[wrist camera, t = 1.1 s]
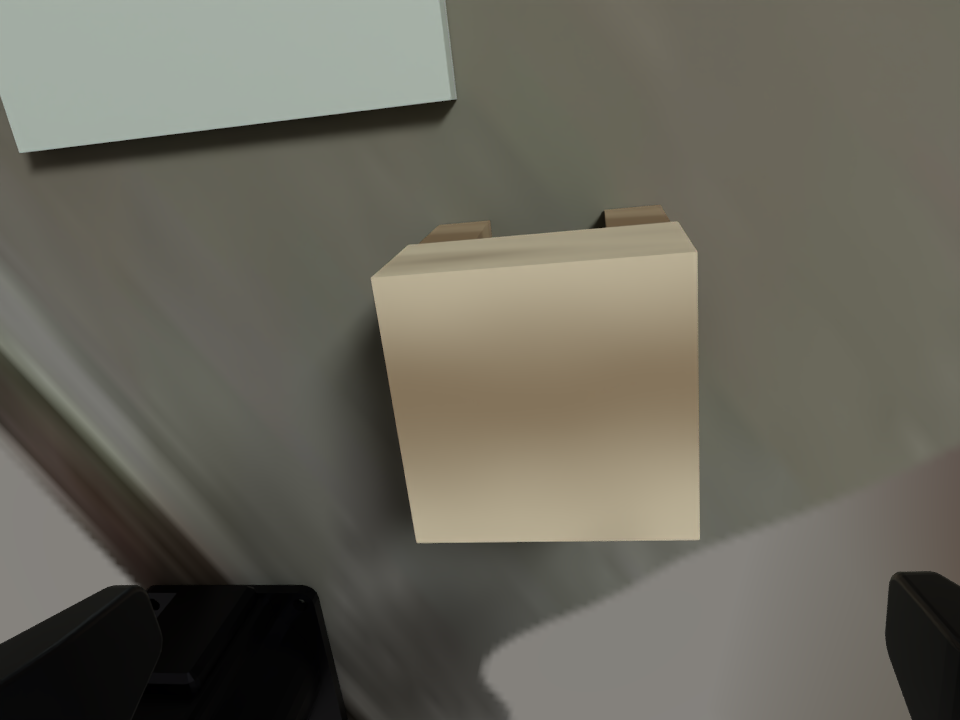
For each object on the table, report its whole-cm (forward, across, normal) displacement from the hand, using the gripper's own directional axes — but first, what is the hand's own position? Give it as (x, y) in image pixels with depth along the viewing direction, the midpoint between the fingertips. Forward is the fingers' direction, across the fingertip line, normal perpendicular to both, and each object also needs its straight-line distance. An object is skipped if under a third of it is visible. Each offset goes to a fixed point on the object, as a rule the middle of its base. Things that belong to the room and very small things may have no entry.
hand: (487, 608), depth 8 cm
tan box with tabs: (+12, 0, 0) cm, 12 cm away
